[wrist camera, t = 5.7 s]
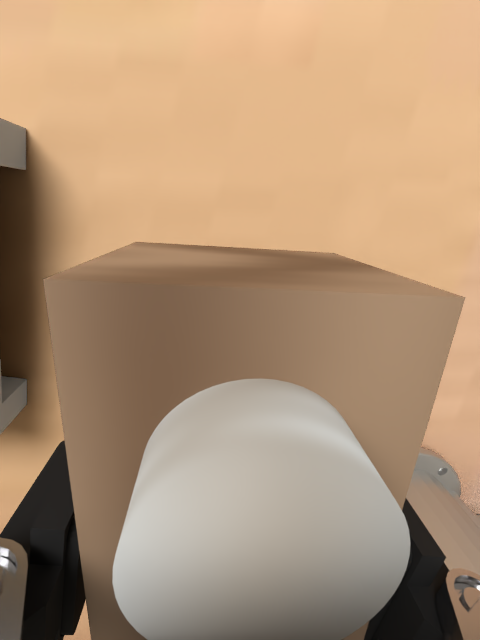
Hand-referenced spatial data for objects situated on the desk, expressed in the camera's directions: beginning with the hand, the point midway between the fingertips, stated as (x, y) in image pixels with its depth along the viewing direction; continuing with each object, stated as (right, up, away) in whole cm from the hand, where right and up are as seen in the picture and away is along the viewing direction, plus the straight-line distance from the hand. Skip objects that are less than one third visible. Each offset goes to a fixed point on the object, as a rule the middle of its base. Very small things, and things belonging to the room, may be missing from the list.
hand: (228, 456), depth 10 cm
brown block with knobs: (0, 0, +1) cm, 1 cm away
